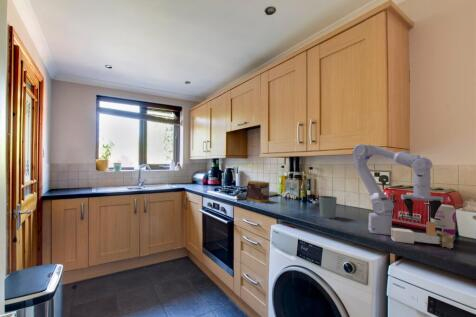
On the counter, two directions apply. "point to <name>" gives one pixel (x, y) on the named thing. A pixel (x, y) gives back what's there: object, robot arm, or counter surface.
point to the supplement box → (258, 191)
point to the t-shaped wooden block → (428, 235)
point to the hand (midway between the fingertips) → (421, 217)
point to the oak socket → (446, 239)
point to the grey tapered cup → (327, 206)
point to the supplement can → (445, 220)
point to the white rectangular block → (402, 235)
